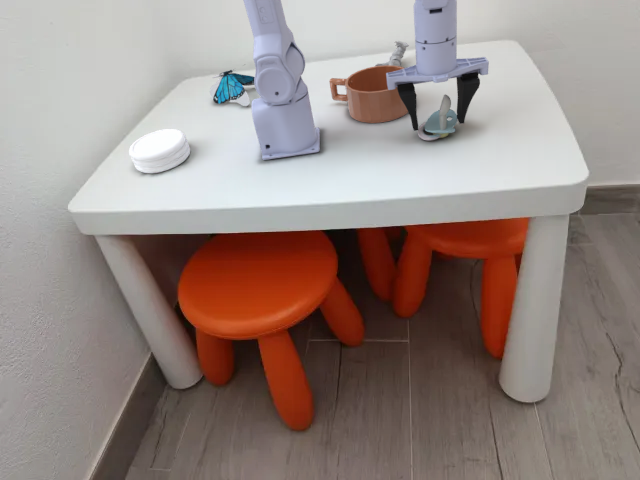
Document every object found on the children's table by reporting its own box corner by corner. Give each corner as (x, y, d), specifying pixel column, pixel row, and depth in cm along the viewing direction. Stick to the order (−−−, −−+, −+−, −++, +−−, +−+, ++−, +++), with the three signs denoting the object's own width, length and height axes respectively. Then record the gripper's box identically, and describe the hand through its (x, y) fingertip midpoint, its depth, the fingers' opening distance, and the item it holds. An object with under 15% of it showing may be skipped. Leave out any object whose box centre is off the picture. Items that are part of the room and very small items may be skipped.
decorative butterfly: (218, 68, 109) (255, 54, 104) (232, 95, 112) (269, 83, 107) (195, 88, 102) (234, 74, 97) (211, 116, 105) (250, 105, 100)
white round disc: (186, 139, 94) (180, 122, 92) (195, 162, 86) (188, 144, 84) (133, 156, 92) (126, 139, 90) (137, 181, 84) (129, 163, 82)
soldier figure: (365, 86, 101) (376, 46, 107) (385, 99, 103) (395, 58, 108) (388, 62, 95) (398, 21, 100) (409, 76, 96) (418, 34, 102)
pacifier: (414, 145, 79) (454, 144, 77) (411, 108, 75) (453, 105, 73) (421, 122, 84) (458, 121, 82) (418, 87, 80) (457, 84, 78)
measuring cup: (422, 96, 91) (420, 66, 88) (397, 125, 84) (394, 94, 81) (347, 90, 99) (343, 63, 95) (318, 117, 92) (313, 88, 88)
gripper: (386, 55, 69) (394, 143, 77) (496, 37, 67) (491, 129, 75) (382, 38, 74) (389, 122, 82) (482, 21, 72) (480, 108, 81)
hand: (437, 124), depth 79 cm, fingers open, 6 cm apart
